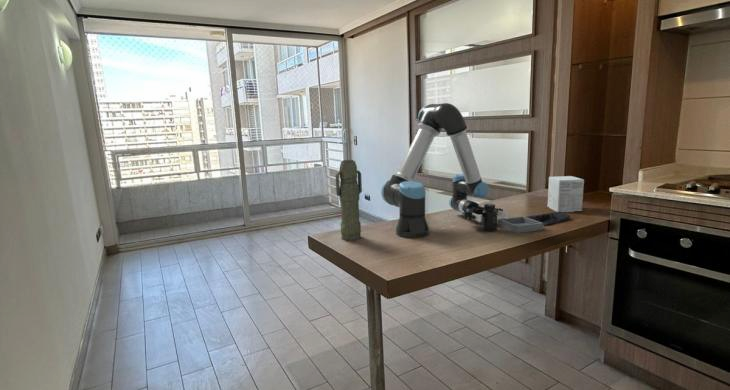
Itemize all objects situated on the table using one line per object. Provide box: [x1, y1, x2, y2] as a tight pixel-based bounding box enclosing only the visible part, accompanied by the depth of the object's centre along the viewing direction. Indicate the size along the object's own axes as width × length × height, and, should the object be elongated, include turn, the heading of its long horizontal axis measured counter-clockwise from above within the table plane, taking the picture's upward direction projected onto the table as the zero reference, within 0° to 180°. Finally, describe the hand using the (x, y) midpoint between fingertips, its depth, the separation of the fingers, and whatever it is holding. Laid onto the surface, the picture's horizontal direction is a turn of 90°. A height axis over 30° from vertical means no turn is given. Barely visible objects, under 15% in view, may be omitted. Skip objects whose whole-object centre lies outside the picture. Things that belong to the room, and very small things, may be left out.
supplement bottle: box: [481, 203, 498, 232], centre depth 182 cm, size 7×7×12 cm
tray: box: [497, 215, 544, 234], centre depth 184 cm, size 14×14×3 cm
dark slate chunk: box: [525, 211, 571, 227], centre depth 196 cm, size 15×22×5 cm
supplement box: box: [547, 175, 585, 213], centre depth 214 cm, size 13×13×18 cm
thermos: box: [335, 159, 363, 242], centre depth 174 cm, size 9×12×35 cm
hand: (493, 217), depth 178 cm, fingers open, 13 cm apart
